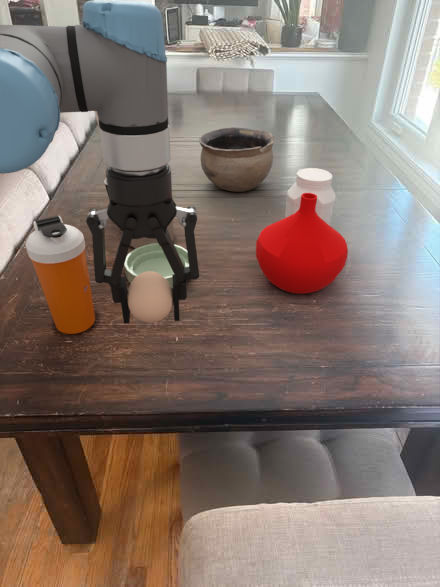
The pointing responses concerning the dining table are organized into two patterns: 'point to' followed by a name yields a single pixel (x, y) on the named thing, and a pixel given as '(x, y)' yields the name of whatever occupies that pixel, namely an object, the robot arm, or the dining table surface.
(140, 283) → the egg
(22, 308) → the dining table surface
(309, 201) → the vase
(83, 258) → the shaker bottle
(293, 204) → the jar
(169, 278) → the dish
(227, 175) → the ceramic bowl
